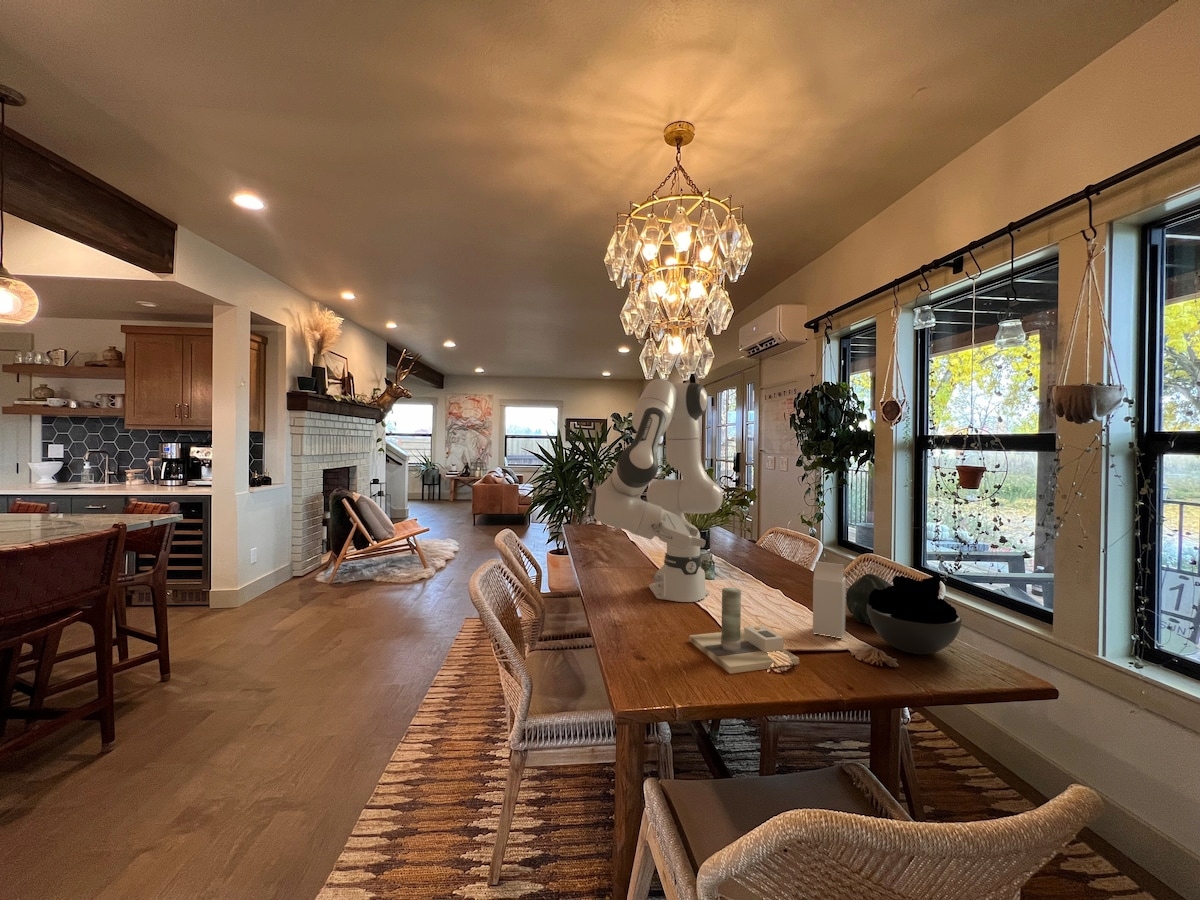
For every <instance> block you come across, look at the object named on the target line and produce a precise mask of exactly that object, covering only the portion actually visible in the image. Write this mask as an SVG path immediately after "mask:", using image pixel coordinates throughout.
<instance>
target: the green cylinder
mask: <svg viewBox="0 0 1200 900" xmlns="http://www.w3.org/2000/svg"><path fill="white" fill-rule="evenodd" d="M741 605H742V591H741V589H739V588H736V587H724V588H722V589H721V632H722V635H721V648H722V649H723V650H725V651H728V652H738V651H740V650H741V638H740V630H741V621H742V620H741V617H742V615H741V614H742V613H741V611H742V610H741V609H742V606H741Z"/></svg>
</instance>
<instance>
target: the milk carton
mask: <svg viewBox="0 0 1200 900" xmlns="http://www.w3.org/2000/svg"><path fill="white" fill-rule="evenodd" d="M845 571H846V570H845V564H842V563H832V562H824V561H823V562H822V561H815V567H814V571H813V579H812V580H813V581H812V634H813V633H818V634H825V635H830V636H835V637H841V638H842V639H843V637H842V636H844V635H845V632H846V591H847V590H846V589H847V588H846V586H847V585H846V584H847V581H846V579H847V578H846V572H845ZM843 634H844V635H843Z"/></svg>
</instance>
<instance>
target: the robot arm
mask: <svg viewBox="0 0 1200 900" xmlns="http://www.w3.org/2000/svg"><path fill="white" fill-rule="evenodd" d="M708 401H709V399H708V393H707V390H706V388H705V387H704V385H703V384H700V383H698V382H690V383H687V382H671V381H669V380H668V379H663V378H656V379H653V380H651V381H650V382H649V383H648V384H647V385H646V386H645V387H644V388H643V389H642V391H640V393H639V396H638V401H637V403H636V404H635V407H634V410H633V414H632V419H631V425H632V427H633V429H634V430H635V432H636V433H635V437H634V439H633V441H632V443H630V444H629V445H628V446H627V447H625V448H624V449H623V450H622V452H621V453H620V455H619V456H618V457H619V458H618V460H617V463H615V466H614V468H613V471H612V472H611V474H610V475H609V476H608V477H607V479H605V481H604V482H602V484H600V485H598V486H597V487H595V488H593V490H592V493H591V495H590V500H589V506H588V509H589V513H590V517H592V518H593V519H595V520H596V521H598V522H600V523H603V524H604V525H607V526H609V527H612V528H615V529H618V530H619V529H623V530H626V531H628V532H630V533H631V534H634V535H636V536H639V537H642V538H645V539H647V540H650V541H651V540H653V539H654V537H657V538H658V539H659V540H660V541H661V542H664V543H665V544H666V552H665V553H664V561H663V565H662V566H661V567H660V568H659V569H658V570H657V571H656V573H655V574H654V575H653V581H654V583H650V584H648V585H649V587H648V588H649V589H650V590H651V592H652V594H653V595H654V597H656V599H658V600H667V601H673V602H680V603H695V602H699V601H698V600H700V601H702V600H701V599H703V598H704V597H705V598H706V597H707V596H709V595H710V592H709V590H707V588H706V587H707V586H706V574H705V570H704V569H703V568H702V565H703V564H702V561H703V559H702V554H701V548H704V547H705V545H706V542H707V541H706V540H705V539H703V538H702V537H701V533H700V531H699V529H698V528H697V527H696V526H695V525H694V524H692V523H690V522H689V521H688V520H687V518H686V516H685V514H686V513H687V514H696V515H698V514H699V515H705V514H712V513H716V512H717V511H718V510H719V509H720V508H721V506H722V504H723V499H724V496H723V491H722V489H721V487H720V485H718V483H716V482H715V481H714V480H713V479H711V477H710V476H709V475H708V473H707V472H706V470H705V468H704V466H703V462H702V457H701V448H700V447H701V443H700V441H701V440H700V437H701V436H700V426H699V418H700V417H702V415H703V414H704V413H705V412H706V410H707V406H708ZM664 434H665V456H666V458H665V459H666V461H667V463H668V465H669V466H670V467H671V468H673V469H675V470H677V471H678V472H679V473H680V474H681V476H682V479H674V478H671V479H670V478H667V479H666V478H665V479H664V478H663V479H660V480H653V479H654V478H655V477H656V476H657V474H658V470H659V461H658V455H657V450H658V446H659V443H660V440H661V437H663V435H664ZM652 480H653V481H652ZM647 487H648V488H647ZM646 489H647V490H646ZM645 490H646V500H643V499H642V498H641V495H642V494H643V493H644V492H645ZM708 594H709V595H708ZM706 595H707V596H706ZM705 598H704V599H705ZM704 599H703V600H704Z"/></svg>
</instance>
